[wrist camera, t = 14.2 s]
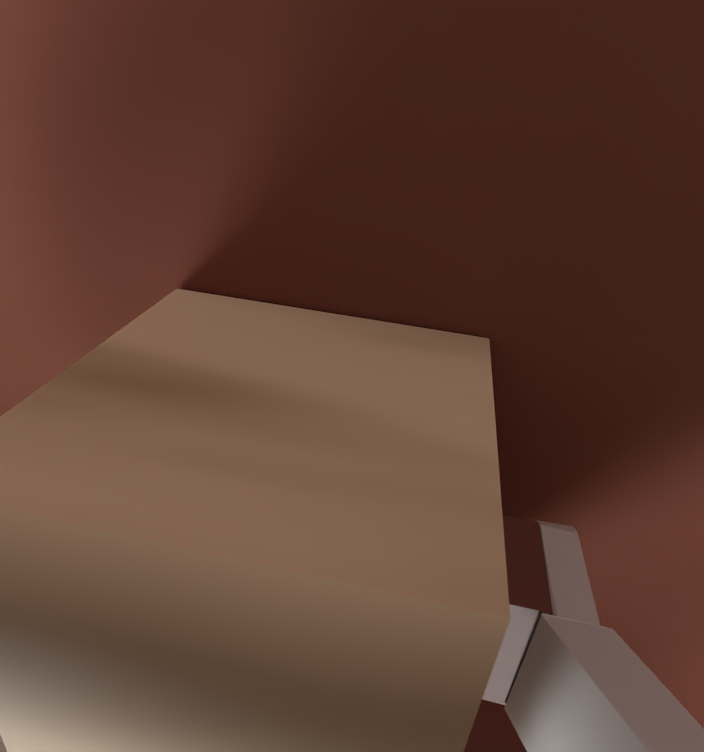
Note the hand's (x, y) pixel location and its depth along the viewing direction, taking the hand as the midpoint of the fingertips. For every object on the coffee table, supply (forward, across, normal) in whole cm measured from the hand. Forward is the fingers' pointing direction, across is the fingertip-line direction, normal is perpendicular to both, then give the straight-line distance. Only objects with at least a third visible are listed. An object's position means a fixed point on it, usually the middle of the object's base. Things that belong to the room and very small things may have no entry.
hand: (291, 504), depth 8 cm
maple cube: (+2, 0, 0) cm, 2 cm away
